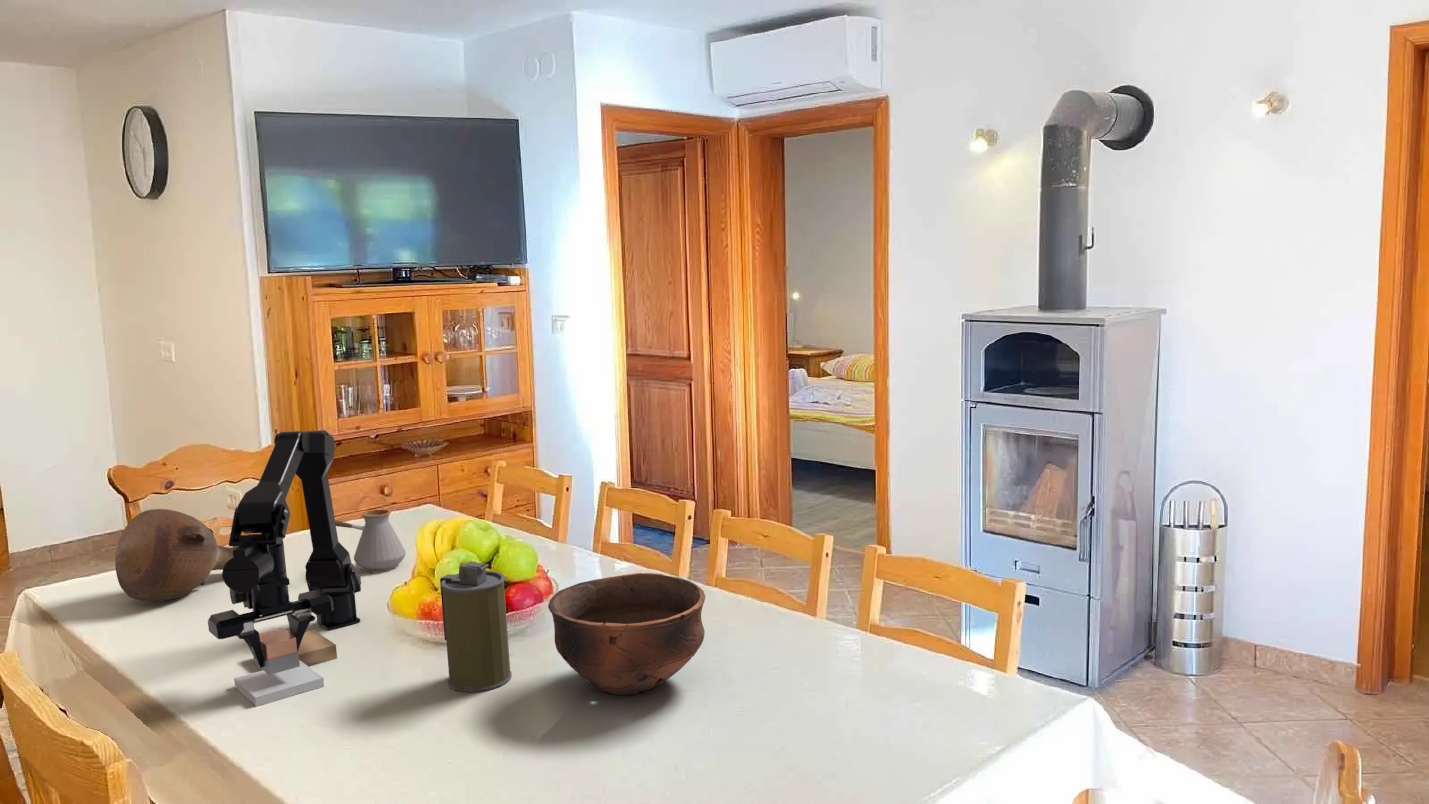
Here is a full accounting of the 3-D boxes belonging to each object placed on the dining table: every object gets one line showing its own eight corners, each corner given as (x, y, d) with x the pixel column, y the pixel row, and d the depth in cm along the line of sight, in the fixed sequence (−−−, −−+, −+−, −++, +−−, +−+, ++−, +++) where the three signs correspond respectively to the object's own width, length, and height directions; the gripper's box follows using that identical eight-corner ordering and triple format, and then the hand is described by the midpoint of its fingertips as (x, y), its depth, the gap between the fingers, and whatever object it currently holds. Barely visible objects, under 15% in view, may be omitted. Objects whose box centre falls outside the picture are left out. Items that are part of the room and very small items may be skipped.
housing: (299, 666, 179) (296, 637, 178) (269, 675, 176) (265, 646, 175) (285, 655, 184) (282, 627, 183) (255, 663, 181) (252, 635, 180)
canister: (523, 670, 183) (515, 557, 180) (491, 695, 173) (482, 575, 170) (467, 664, 187) (459, 553, 184) (433, 688, 177) (424, 571, 174)
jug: (131, 621, 217) (264, 602, 242) (147, 528, 215) (280, 519, 240) (82, 586, 228) (215, 572, 253) (97, 498, 225) (229, 492, 251)
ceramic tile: (300, 668, 188) (299, 660, 188) (324, 686, 180) (323, 677, 179) (235, 686, 181) (234, 678, 181) (256, 706, 173) (255, 697, 172)
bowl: (587, 731, 159) (581, 633, 157) (534, 675, 181) (528, 589, 179) (734, 693, 170) (731, 601, 168) (668, 644, 192) (664, 563, 190)
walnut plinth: (314, 642, 200) (313, 629, 200) (337, 658, 192) (335, 644, 192) (253, 658, 193) (252, 645, 193) (274, 675, 185) (273, 661, 185)
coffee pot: (384, 557, 256) (379, 495, 253) (417, 563, 249) (412, 500, 247) (306, 582, 238) (300, 516, 236) (339, 590, 232) (333, 522, 230)
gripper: (306, 551, 190) (314, 635, 192) (193, 575, 178) (204, 664, 180) (330, 563, 181) (338, 651, 183) (213, 590, 169) (224, 684, 172)
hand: (277, 662), depth 180 cm, fingers closed on housing, 5 cm apart
